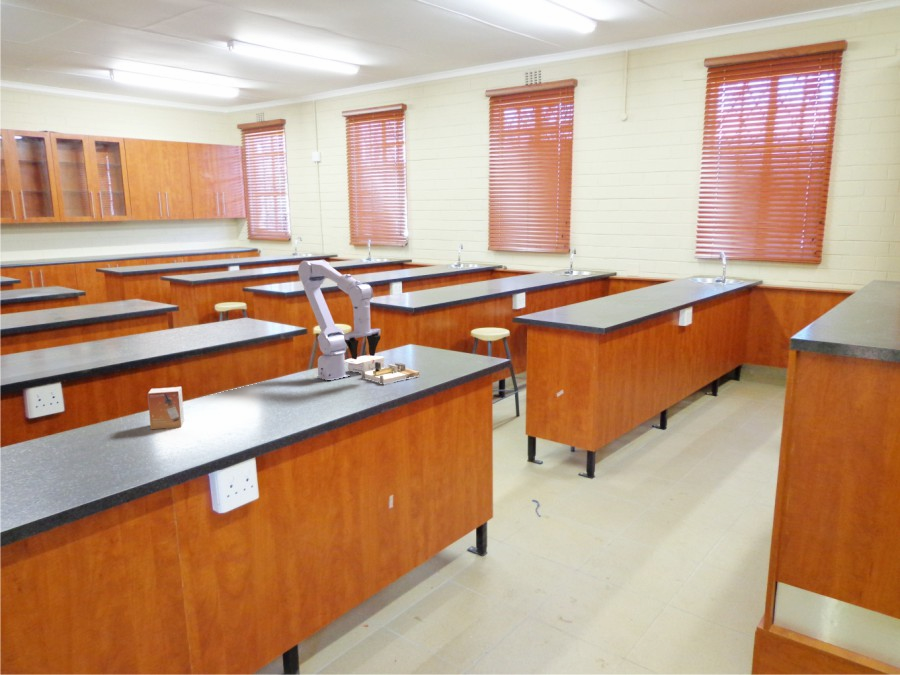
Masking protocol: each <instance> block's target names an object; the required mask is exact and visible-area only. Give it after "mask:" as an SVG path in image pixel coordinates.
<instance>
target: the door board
mask: <svg viewBox="0 0 900 675" xmlns="http://www.w3.org/2000/svg"><path fill="white" fill-rule="evenodd" d="M387 365H388V366H387V367H388V368H390V367H391V368H392V367H394V372H389V373H384V374H380V375H374V374H373V371H375V370H372V371H367V372H365V370H362V373H361V374H360V378H361V377H362V378H368V379H371V380H374V381H378V382H380V383H388V382H392V381H396V380H400V379H405V378H407V375H406V374H403V373H399V372H398V366H396V365H395V364H392V363H389V364H387ZM385 368H386V367H384V368H381V369H385ZM362 378H361V379H362ZM380 383H379V384H380Z"/></svg>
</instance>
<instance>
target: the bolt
mask: <svg viewBox="0 0 900 675" xmlns="http://www.w3.org/2000/svg"><path fill="white" fill-rule="evenodd" d="M384 368H385V369H381V362H375V371H373V374H374V375H380V374H384V373H389V372H394V368H391V367H390V368H386V367H384Z"/></svg>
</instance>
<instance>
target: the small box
mask: <svg viewBox="0 0 900 675" xmlns="http://www.w3.org/2000/svg"><path fill="white" fill-rule="evenodd" d="M147 403H148V411H149V424H150V430H158V429H159V430H160V429H177V428H182V426H183V424H184V422H185V416H184V402H183V388H182V386H176V387H175V386H171V387H160V388H158V387H157V388H156V387H155V388H151V389H150V390H149V391H148V393H147Z"/></svg>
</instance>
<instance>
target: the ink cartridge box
mask: <svg viewBox="0 0 900 675" xmlns="http://www.w3.org/2000/svg"><path fill="white" fill-rule="evenodd" d="M375 362H381V368H382V367H384V368H385V356H379V355H374V356H371V355H370V354H366V355H360V356H357V359H352V357H351V358H347V359H345V363H347V371H348V370H350V371H354V372H353V373H355V372H360V373H362V370H365V372H367V371H372V370H375ZM350 371H349V372H350Z"/></svg>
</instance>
